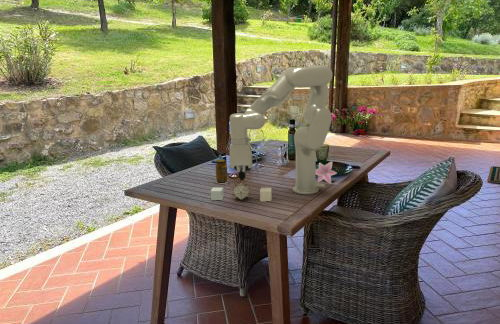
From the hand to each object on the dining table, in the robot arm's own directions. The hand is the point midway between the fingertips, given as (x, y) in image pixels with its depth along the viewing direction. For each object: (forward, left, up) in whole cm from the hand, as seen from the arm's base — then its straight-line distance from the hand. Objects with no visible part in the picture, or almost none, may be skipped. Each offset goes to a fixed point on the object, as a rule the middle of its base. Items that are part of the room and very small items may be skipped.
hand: (242, 179), depth 182 cm
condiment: (+15, -25, -10) cm, 30 cm away
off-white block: (-11, 0, -10) cm, 15 cm away
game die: (+1, 0, -10) cm, 10 cm away
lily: (-40, -28, -10) cm, 50 cm away
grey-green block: (+12, 0, -10) cm, 16 cm away
